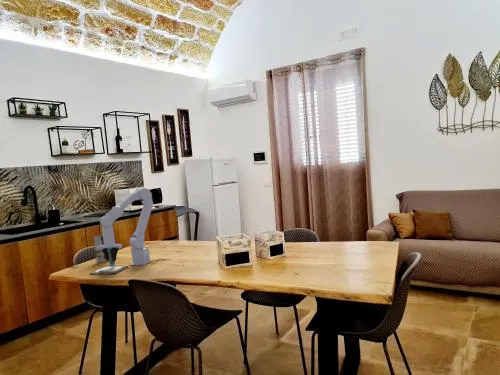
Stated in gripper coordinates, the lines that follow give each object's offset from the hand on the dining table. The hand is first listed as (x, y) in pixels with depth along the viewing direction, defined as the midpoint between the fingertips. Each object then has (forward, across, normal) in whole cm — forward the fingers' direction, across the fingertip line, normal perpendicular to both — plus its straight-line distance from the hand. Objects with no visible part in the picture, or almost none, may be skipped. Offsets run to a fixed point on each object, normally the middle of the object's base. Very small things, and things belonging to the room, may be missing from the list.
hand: (111, 261), depth 208 cm
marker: (+3, 0, 0) cm, 3 cm away
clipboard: (+5, -1, -2) cm, 5 cm away
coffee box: (+5, -20, +21) cm, 29 cm away
